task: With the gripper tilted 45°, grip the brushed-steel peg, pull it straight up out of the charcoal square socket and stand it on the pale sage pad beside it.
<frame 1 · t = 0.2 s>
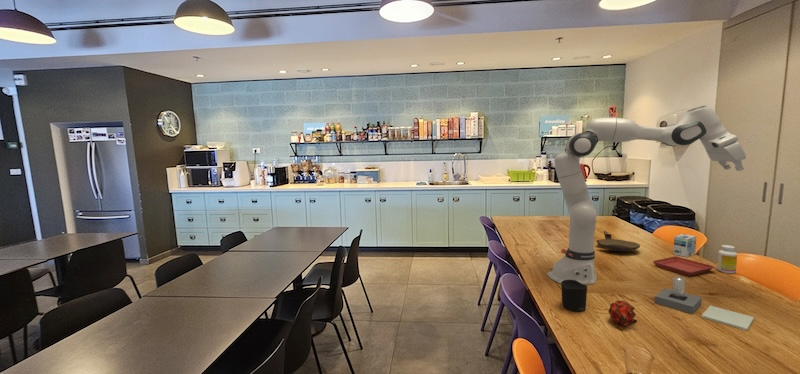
hand: (734, 169, 138), 53 cm above the table, tool tilted 25°, fingers open, 8 cm apart
broken bowl: (617, 249, 205), on the table
dragon fruit: (621, 323, 123), on the table
peg: (678, 291, 135), in the square socket
pen holder: (573, 307, 136), on the table
light bulb box: (684, 254, 191), on the table
pad: (727, 318, 123), on the table
square socket: (677, 303, 135), on the table
plant saucer: (682, 270, 170), on the table
supplement bottle: (726, 271, 165), on the table
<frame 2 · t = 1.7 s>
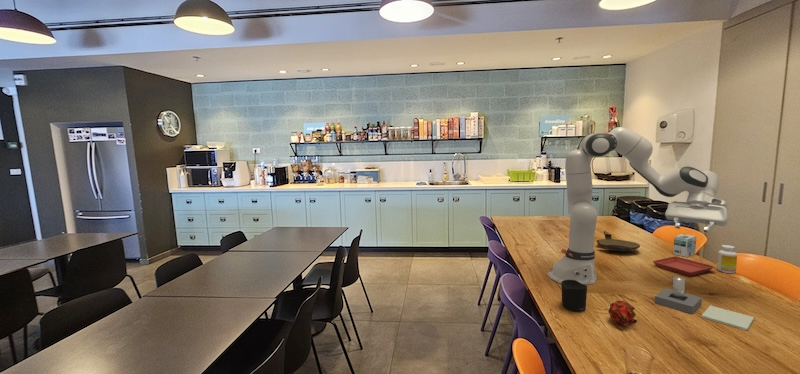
hand: (691, 229, 139), 29 cm above the table, tool tilted 45°, fingers open, 8 cm apart
nothing on the table moved.
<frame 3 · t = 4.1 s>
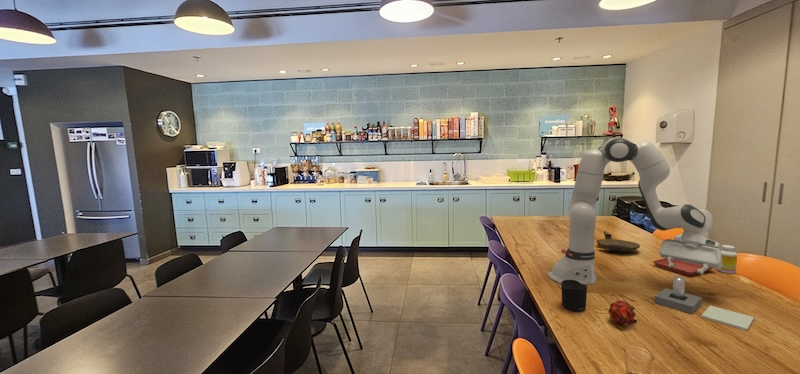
hand: (685, 270, 138), 12 cm above the table, tool tilted 45°, fingers open, 8 cm apart
nothing on the table moved.
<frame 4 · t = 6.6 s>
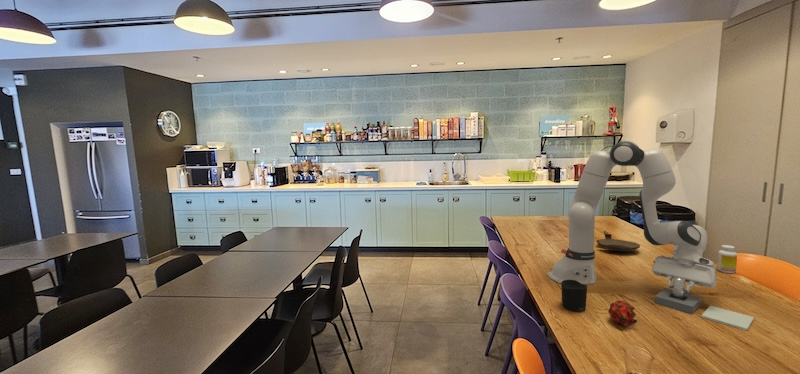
hand: (678, 289, 134), 6 cm above the table, tool tilted 45°, fingers closed on peg, 4 cm apart
peg: (678, 291, 135), in the square socket, touching gripper
everything else where it was.
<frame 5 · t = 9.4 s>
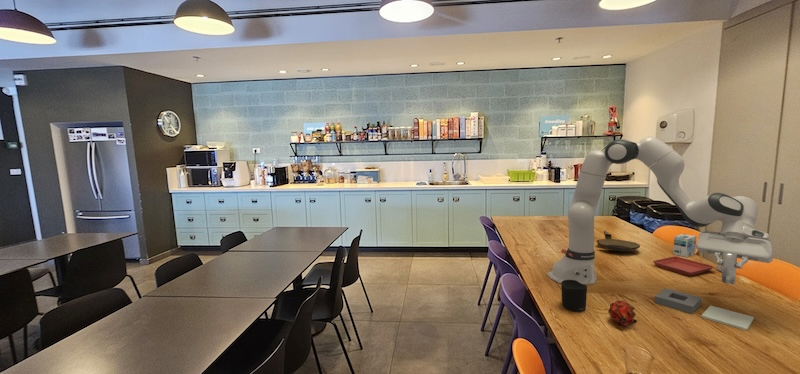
hand: (728, 266, 121), 20 cm above the table, tool tilted 45°, fingers closed on peg, 4 cm apart
peg: (729, 267, 121), point 19 cm above the table, touching gripper
everything else where it was.
when the fingers open (8 cm above the table, at t = 12.5 s): peg drops 1 cm, resting on pad.
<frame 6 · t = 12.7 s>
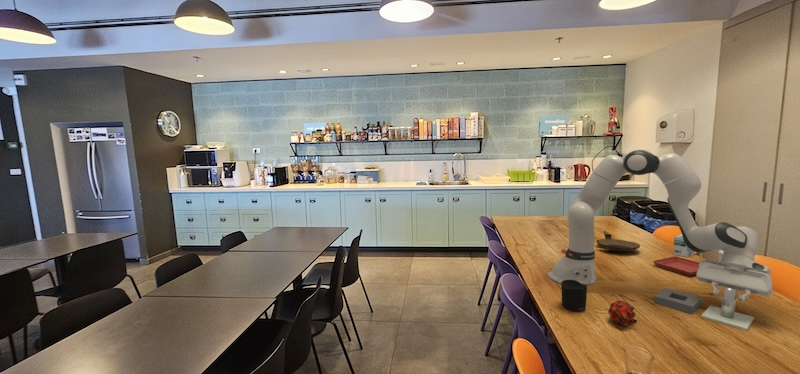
hand: (728, 297, 122), 8 cm above the table, tool tilted 45°, fingers open, 5 cm apart
peg: (728, 302, 122), on the pad, point 6 cm above the table
everything else where it was.
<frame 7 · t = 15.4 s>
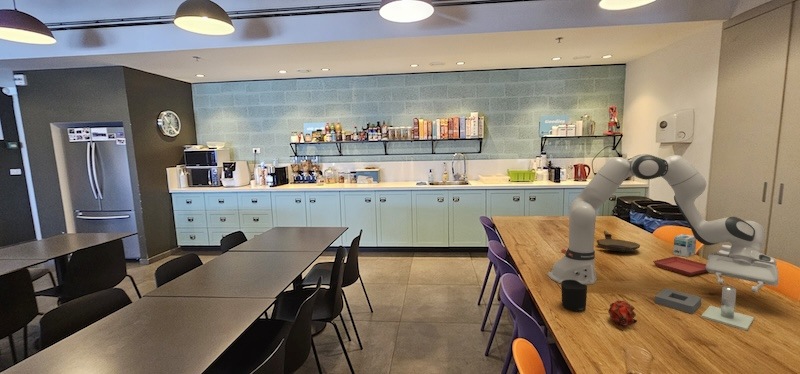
hand: (736, 287, 129), 8 cm above the table, tool tilted 45°, fingers open, 8 cm apart
nothing on the table moved.
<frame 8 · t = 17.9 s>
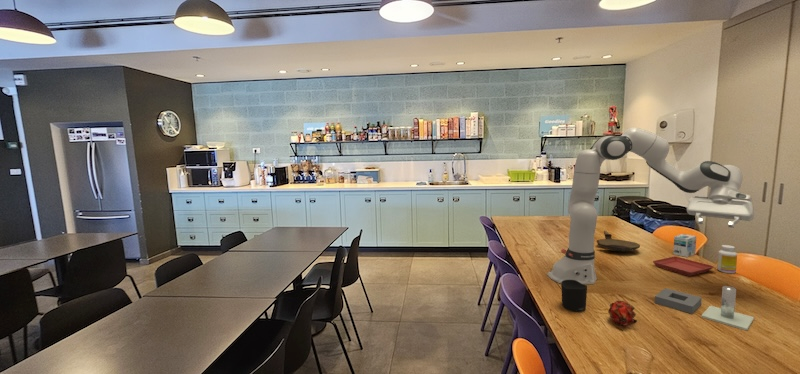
hand: (714, 224, 136), 31 cm above the table, tool tilted 45°, fingers open, 8 cm apart
nothing on the table moved.
at the end: peg inside the target area on the pad (0.1 cm from its centre), point 6.3 cm above the pad's base; peg tilted 0°; the gripper is holding nothing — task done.
